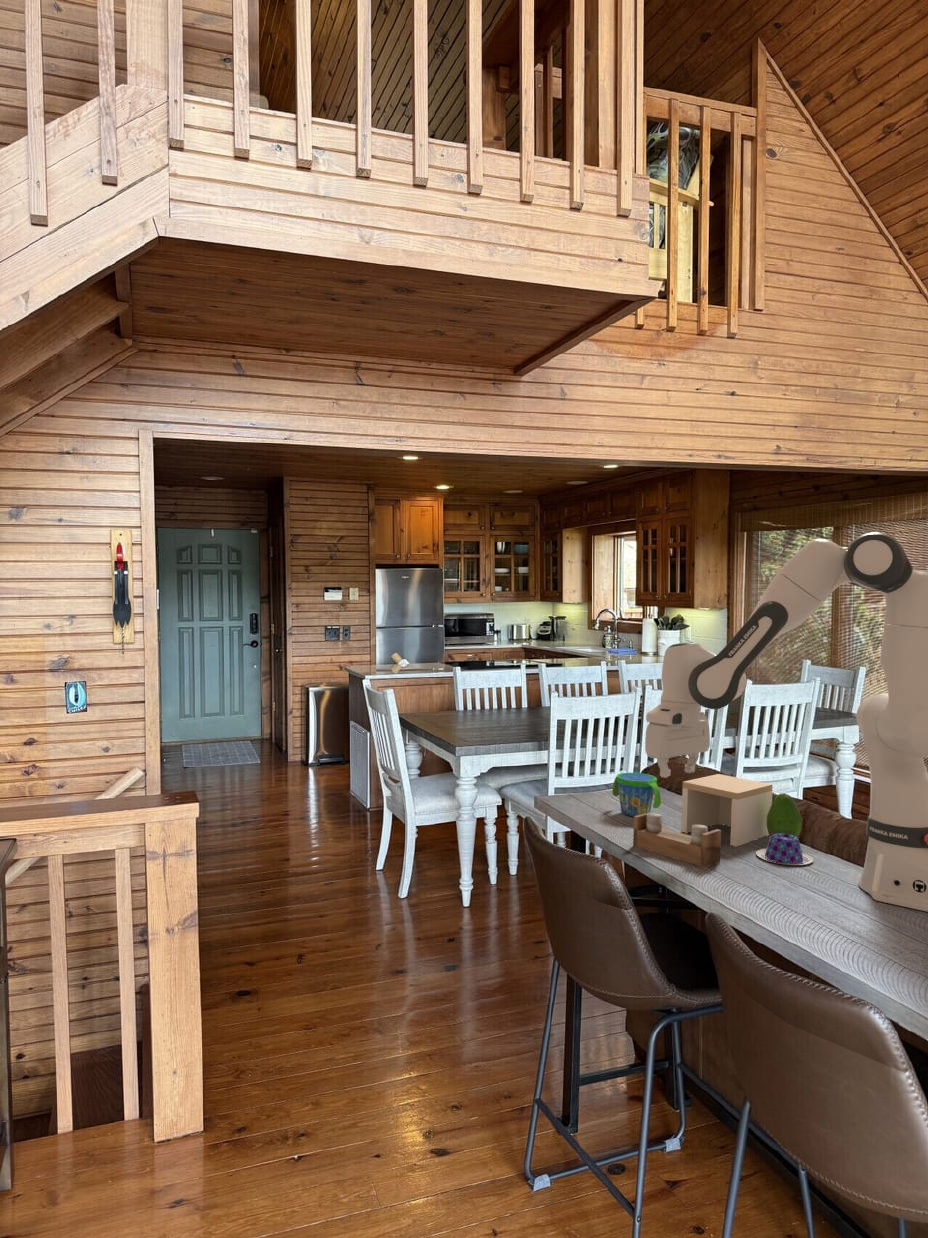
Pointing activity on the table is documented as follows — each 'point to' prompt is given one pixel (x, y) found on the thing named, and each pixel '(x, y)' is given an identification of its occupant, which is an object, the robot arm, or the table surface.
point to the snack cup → (636, 793)
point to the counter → (727, 806)
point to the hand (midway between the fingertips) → (677, 774)
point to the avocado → (784, 816)
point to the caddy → (677, 840)
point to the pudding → (784, 850)
